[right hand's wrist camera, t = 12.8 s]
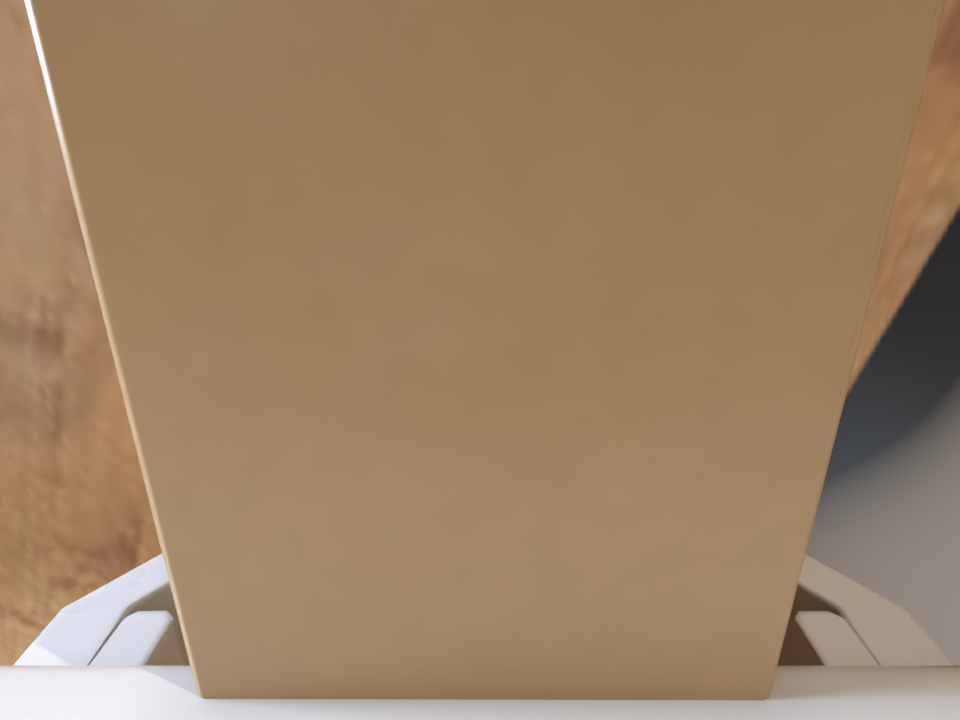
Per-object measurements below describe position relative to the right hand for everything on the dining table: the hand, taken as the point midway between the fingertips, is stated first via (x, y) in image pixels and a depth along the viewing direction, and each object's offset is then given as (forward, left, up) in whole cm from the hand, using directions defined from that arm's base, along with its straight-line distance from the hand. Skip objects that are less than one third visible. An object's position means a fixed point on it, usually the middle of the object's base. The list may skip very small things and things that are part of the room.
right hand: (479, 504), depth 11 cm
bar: (-7, +7, -4) cm, 11 cm away
